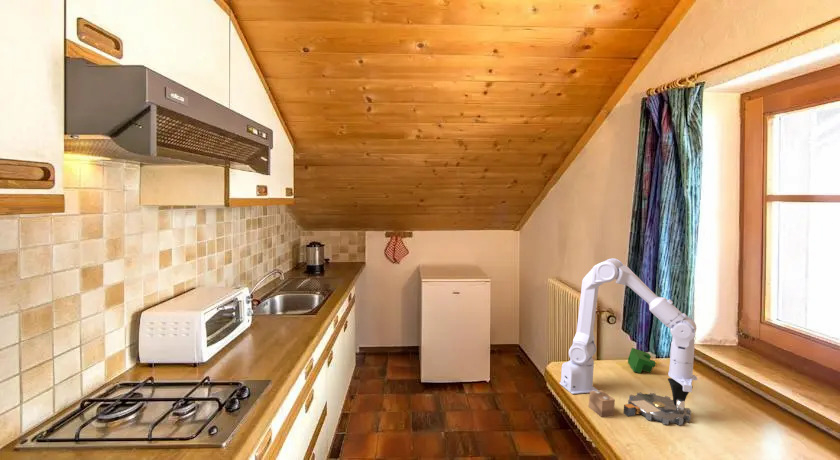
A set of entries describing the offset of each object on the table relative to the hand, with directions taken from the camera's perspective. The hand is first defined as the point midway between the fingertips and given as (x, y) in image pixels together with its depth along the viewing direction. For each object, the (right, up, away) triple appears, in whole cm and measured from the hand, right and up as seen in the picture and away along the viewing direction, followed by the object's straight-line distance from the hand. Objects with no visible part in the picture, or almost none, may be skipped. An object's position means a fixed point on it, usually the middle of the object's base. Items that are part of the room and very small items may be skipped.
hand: (678, 405), depth 123 cm
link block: (-22, -3, +2) cm, 22 cm away
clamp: (+7, -1, +34) cm, 34 cm away
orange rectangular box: (-14, -3, 0) cm, 14 cm away
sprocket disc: (-4, -3, +2) cm, 6 cm away
